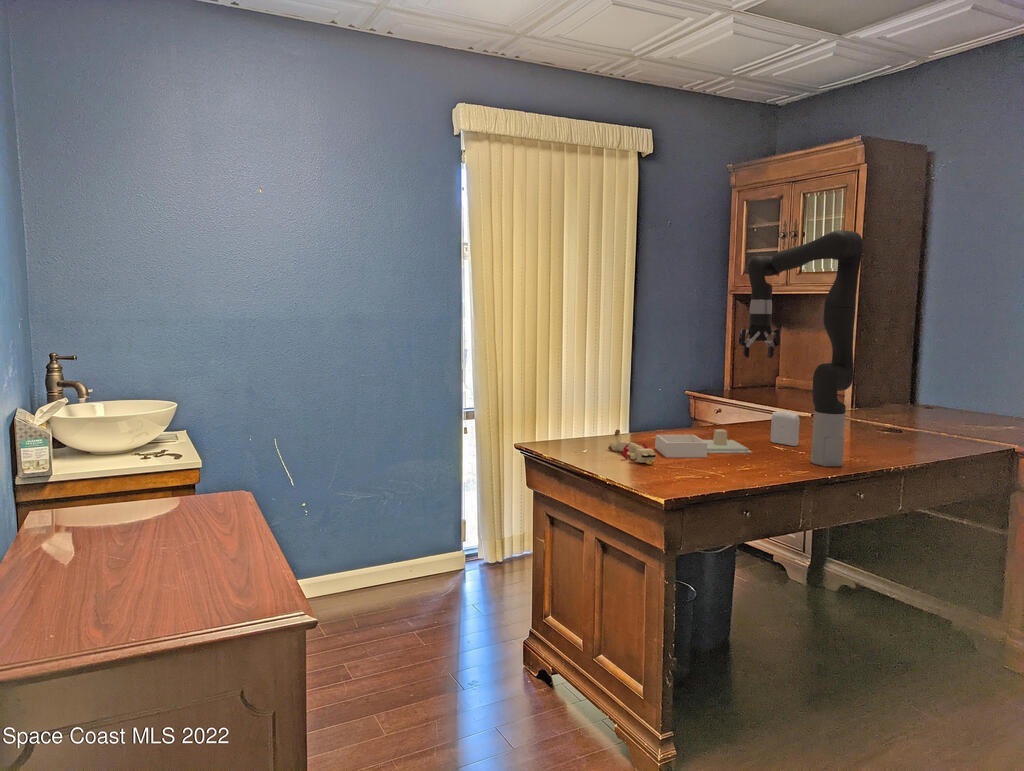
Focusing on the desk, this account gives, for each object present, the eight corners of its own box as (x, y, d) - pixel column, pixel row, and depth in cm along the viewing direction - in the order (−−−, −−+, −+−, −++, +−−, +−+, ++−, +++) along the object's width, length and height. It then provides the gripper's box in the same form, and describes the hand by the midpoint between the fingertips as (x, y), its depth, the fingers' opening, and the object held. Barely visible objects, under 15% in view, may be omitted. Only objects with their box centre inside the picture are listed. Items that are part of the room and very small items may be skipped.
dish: (706, 457, 239) (707, 442, 239) (666, 457, 238) (666, 442, 238) (693, 448, 253) (694, 434, 253) (655, 448, 252) (655, 434, 252)
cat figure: (602, 454, 248) (637, 465, 224) (602, 429, 248) (637, 437, 224) (628, 452, 251) (664, 463, 228) (627, 428, 251) (664, 436, 227)
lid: (748, 451, 248) (749, 434, 247) (706, 451, 247) (707, 434, 246) (732, 442, 263) (733, 426, 262) (692, 442, 262) (693, 426, 261)
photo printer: (768, 442, 266) (770, 409, 265) (774, 440, 269) (776, 408, 267) (793, 447, 258) (796, 413, 257) (799, 445, 261) (802, 412, 259)
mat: (752, 453, 247) (752, 452, 247) (704, 453, 246) (704, 452, 246) (733, 442, 264) (734, 441, 264) (689, 442, 263) (689, 441, 263)
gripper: (745, 312, 249) (743, 358, 251) (784, 313, 250) (782, 358, 252) (737, 312, 256) (735, 356, 258) (775, 312, 258) (772, 356, 260)
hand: (758, 357), depth 255 cm, fingers open, 8 cm apart
